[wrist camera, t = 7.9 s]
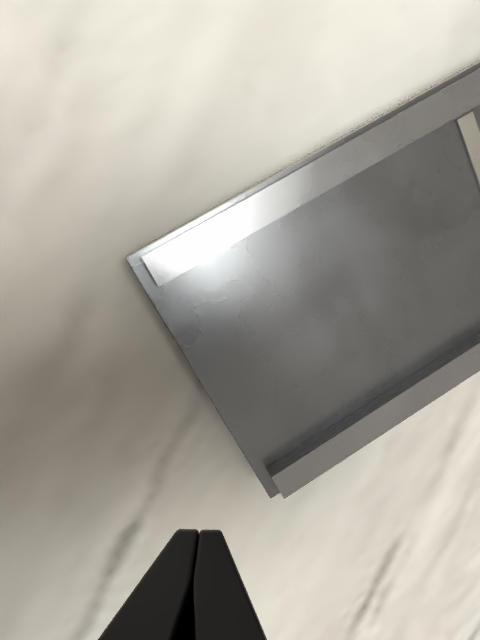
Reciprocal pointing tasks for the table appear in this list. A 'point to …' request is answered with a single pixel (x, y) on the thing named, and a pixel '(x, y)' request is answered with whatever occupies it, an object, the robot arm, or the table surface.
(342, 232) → the tray
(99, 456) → the table surface
